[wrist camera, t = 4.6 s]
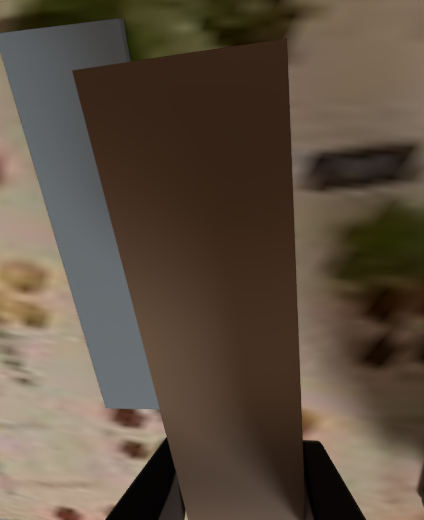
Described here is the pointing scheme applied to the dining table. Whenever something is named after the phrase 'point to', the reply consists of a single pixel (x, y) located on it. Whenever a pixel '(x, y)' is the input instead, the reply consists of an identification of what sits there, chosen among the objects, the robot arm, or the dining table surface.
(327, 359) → the dining table surface
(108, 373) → the grey flat bar
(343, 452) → the dining table surface
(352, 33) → the dining table surface
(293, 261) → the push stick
